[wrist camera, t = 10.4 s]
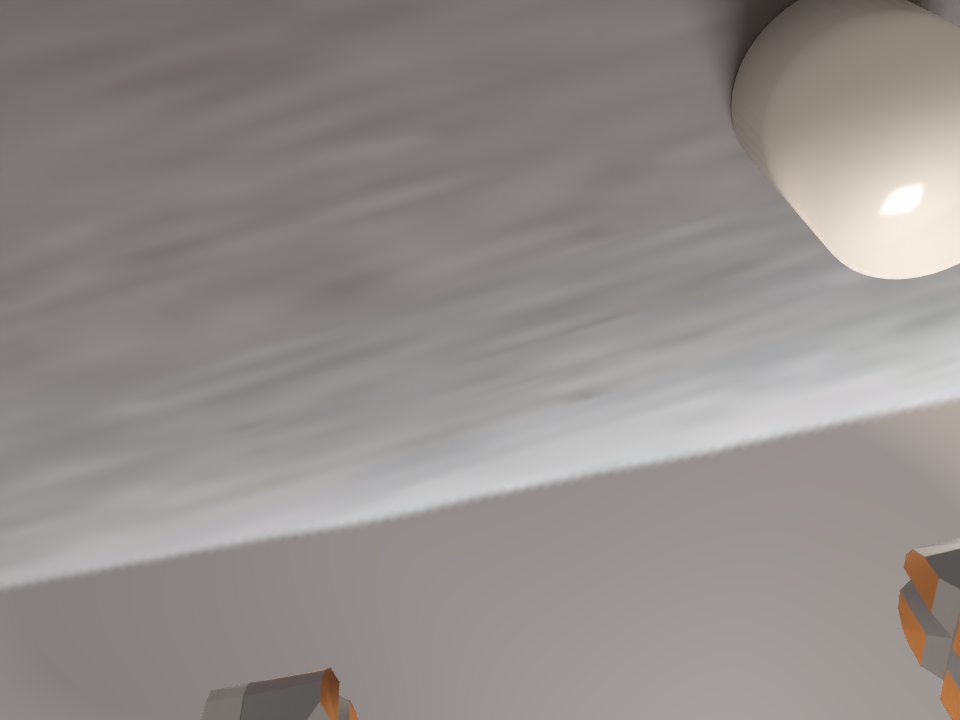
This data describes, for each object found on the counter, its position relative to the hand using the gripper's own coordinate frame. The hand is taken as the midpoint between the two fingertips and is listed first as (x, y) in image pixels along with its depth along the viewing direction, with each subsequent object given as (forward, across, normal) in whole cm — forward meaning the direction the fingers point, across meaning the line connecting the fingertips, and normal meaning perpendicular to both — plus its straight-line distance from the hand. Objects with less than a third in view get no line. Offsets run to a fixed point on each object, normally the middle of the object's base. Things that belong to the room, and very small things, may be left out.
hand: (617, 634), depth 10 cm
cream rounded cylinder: (+14, -9, 0) cm, 17 cm away
